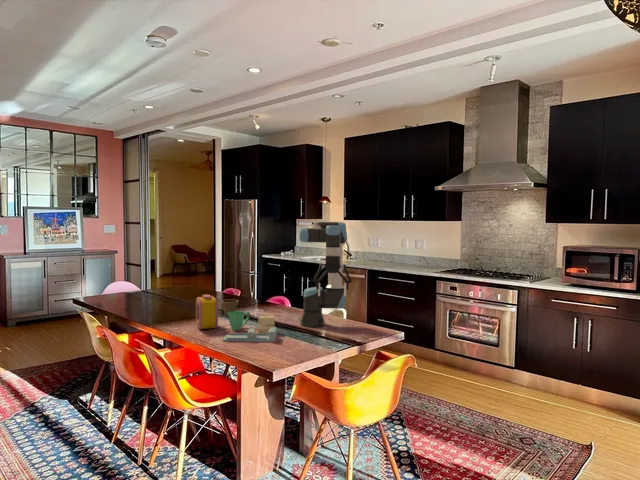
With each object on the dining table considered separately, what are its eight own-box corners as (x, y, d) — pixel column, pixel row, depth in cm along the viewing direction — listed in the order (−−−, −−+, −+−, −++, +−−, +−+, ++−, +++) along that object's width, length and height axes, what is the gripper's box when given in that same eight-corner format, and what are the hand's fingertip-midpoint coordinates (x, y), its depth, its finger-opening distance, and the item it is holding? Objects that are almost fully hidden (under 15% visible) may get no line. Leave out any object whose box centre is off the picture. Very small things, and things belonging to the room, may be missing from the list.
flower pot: (239, 316, 306) (239, 301, 305) (221, 317, 303) (221, 302, 302) (237, 313, 317) (237, 298, 316) (221, 313, 314) (221, 299, 313)
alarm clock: (195, 324, 282) (195, 293, 281) (213, 323, 286) (213, 292, 285) (199, 331, 265) (199, 298, 264) (218, 330, 269) (218, 297, 268)
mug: (234, 332, 265) (234, 315, 265) (224, 329, 272) (224, 312, 272) (254, 327, 276) (254, 311, 276) (244, 325, 283) (244, 309, 282)
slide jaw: (249, 334, 255) (249, 328, 255) (254, 334, 255) (254, 328, 255) (247, 338, 246) (247, 332, 246) (252, 338, 247) (252, 332, 246)
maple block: (259, 331, 268) (259, 316, 267) (274, 331, 268) (274, 316, 268) (258, 333, 263) (258, 318, 262) (273, 333, 263) (273, 318, 263)
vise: (226, 336, 256) (226, 326, 255) (276, 337, 256) (276, 327, 256) (222, 341, 246) (222, 331, 245) (274, 341, 246) (275, 331, 246)
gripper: (309, 255, 233) (308, 296, 234) (357, 256, 234) (356, 297, 235) (308, 254, 240) (308, 294, 241) (355, 254, 241) (355, 294, 242)
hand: (332, 295), depth 238 cm, fingers open, 13 cm apart
